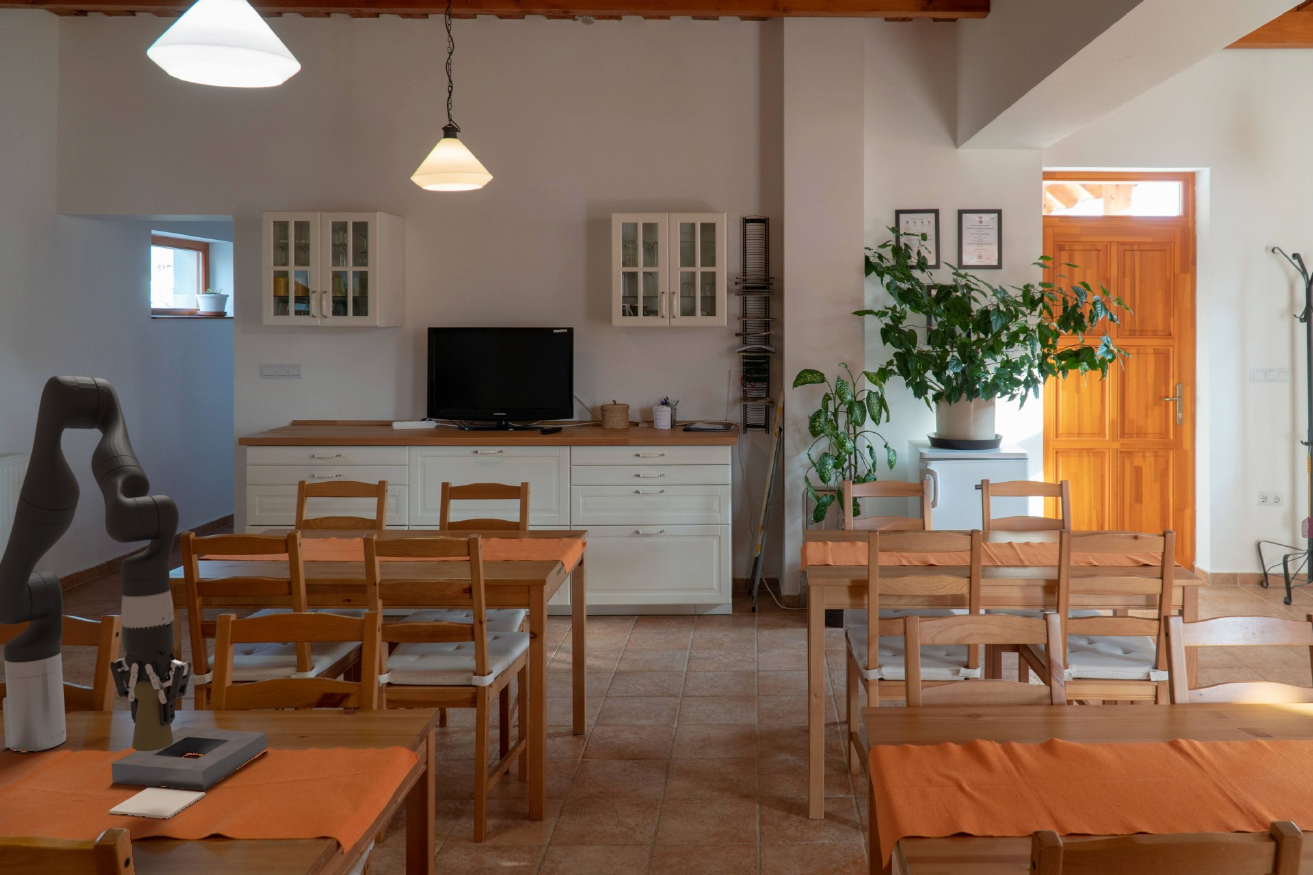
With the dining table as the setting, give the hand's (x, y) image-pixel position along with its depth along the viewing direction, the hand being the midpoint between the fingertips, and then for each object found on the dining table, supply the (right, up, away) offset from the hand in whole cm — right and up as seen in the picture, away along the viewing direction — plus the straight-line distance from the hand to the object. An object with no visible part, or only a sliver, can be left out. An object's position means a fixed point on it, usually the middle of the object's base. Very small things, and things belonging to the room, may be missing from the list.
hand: (153, 722), depth 167 cm
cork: (0, -4, +1) cm, 4 cm away
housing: (-1, -13, +17) cm, 21 cm away
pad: (0, -14, +1) cm, 14 cm away
